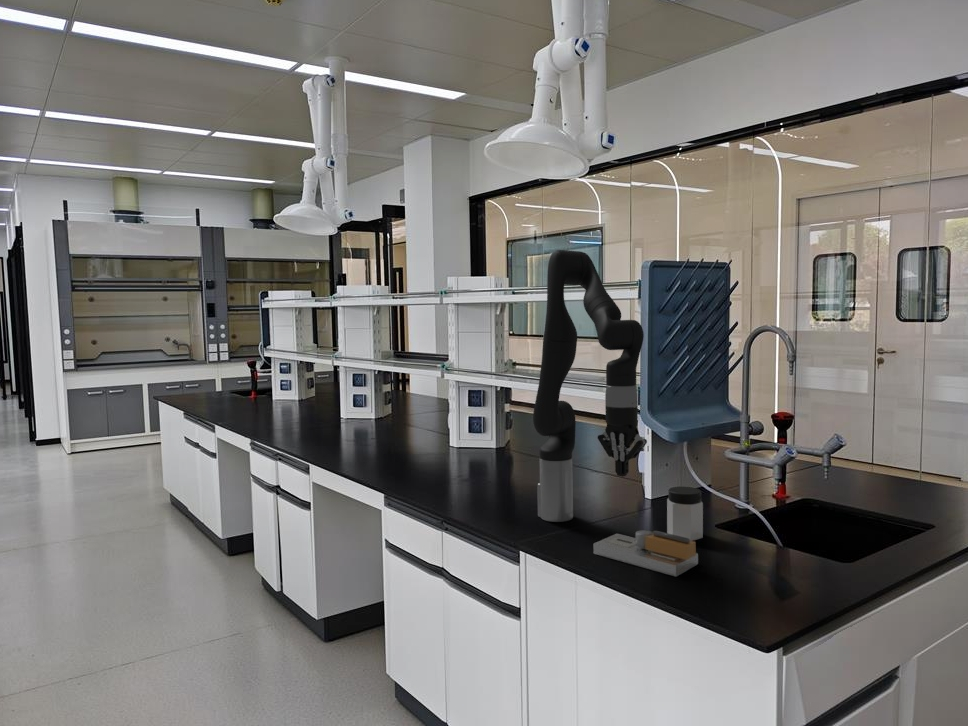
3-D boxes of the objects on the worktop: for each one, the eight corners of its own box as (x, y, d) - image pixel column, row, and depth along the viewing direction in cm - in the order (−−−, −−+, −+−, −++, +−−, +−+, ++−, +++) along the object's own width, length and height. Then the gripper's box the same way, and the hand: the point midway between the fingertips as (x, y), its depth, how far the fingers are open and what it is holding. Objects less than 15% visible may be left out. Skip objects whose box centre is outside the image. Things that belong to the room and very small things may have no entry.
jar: (707, 541, 173) (707, 494, 172) (675, 542, 173) (675, 495, 172) (694, 529, 182) (694, 485, 181) (663, 531, 182) (663, 486, 181)
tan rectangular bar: (632, 545, 162) (632, 528, 161) (641, 541, 164) (641, 524, 164) (686, 559, 152) (686, 541, 151) (695, 555, 154) (695, 536, 154)
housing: (593, 553, 166) (593, 542, 166) (616, 543, 173) (616, 532, 173) (675, 576, 150) (675, 564, 150) (698, 564, 158) (697, 552, 157)
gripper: (589, 403, 165) (590, 474, 167) (636, 408, 156) (637, 483, 157) (607, 400, 171) (608, 468, 172) (654, 404, 161) (654, 476, 163)
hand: (622, 475), depth 165 cm, fingers closed
